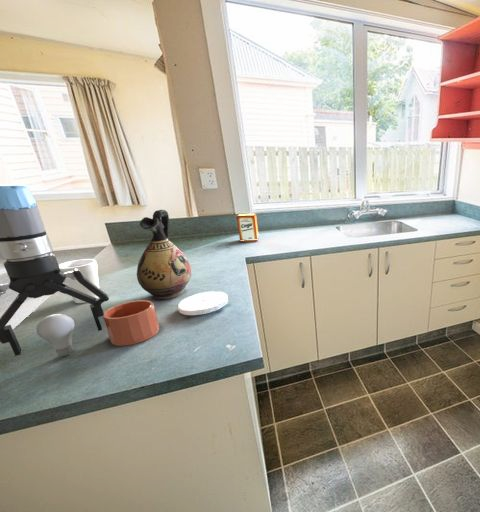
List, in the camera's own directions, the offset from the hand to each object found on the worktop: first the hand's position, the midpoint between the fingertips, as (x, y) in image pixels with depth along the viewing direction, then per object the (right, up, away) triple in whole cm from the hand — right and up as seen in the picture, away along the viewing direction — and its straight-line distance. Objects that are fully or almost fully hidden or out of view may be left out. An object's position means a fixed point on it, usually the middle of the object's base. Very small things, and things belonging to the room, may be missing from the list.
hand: (62, 340), depth 71 cm
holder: (+9, -1, +10) cm, 14 cm away
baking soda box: (-3, +30, +106) cm, 110 cm away
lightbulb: (-1, -4, +2) cm, 5 cm away
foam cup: (-24, +5, +30) cm, 39 cm away
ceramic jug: (+1, +7, +36) cm, 36 cm away
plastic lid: (+19, +3, +26) cm, 32 cm away
